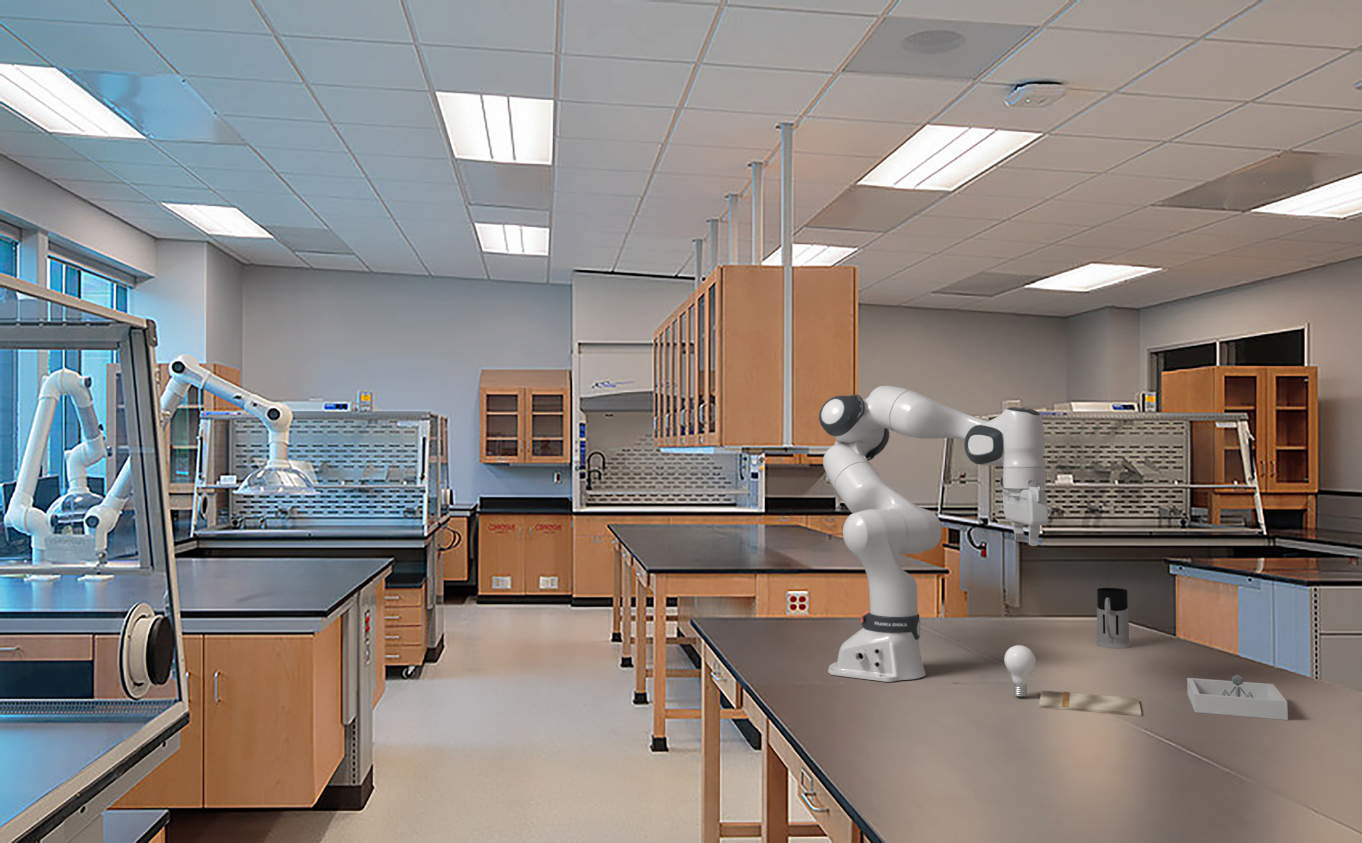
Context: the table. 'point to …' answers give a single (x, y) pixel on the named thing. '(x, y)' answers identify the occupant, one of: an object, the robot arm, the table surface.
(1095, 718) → the table surface
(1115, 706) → the board
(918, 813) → the table surface
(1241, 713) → the specimen tray
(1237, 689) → the bacteriophage
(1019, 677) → the lightbulb
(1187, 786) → the table surface
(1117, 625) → the glass holder
